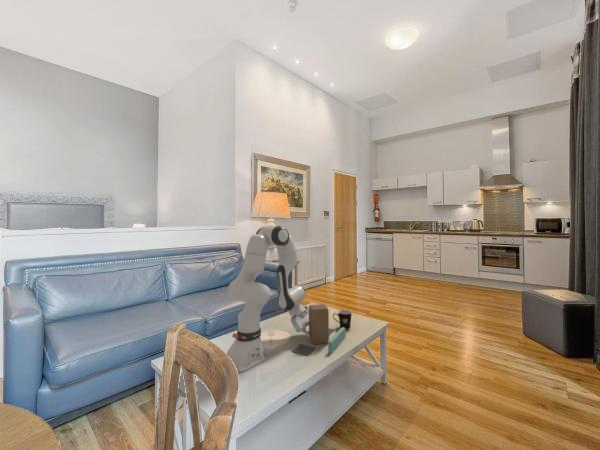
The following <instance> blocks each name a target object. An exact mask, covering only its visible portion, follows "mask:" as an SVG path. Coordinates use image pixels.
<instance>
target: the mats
mask: <svg viewBox="0 0 600 450" xmlns="http://www.w3.org/2000/svg"><path fill="white" fill-rule="evenodd" d="M334 331H335V329H334V328H330V327H329V336H330V335H331V334H332V333H333V332H334ZM316 349H317V347H316V346H311V345H308V344H302V343H299V344H298V345H297V346H296V347H294V348H293V349H292V350H291V352H290V353H295V354H298V355H303V356H306V357H309V356H310V355H311V354H312V353H313V352H314V351H315V350H316Z"/></svg>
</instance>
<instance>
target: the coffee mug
mask: <svg viewBox="0 0 600 450" xmlns="http://www.w3.org/2000/svg"><path fill="white" fill-rule="evenodd" d="M337 312H338V313H337ZM337 312H336V313H333V315H332V317H333V319H334V321H336V322H338V323H339V326H340V329H341V328H342V327H343V328H345V330H349V329H350V328H351V322H352V321H351V320H352V315H353V314H352V311H351V310H350V309H340V310H338V311H337ZM335 315H337V316H338V320H337V319H336V318H335ZM348 328H349V329H348Z"/></svg>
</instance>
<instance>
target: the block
mask: <svg viewBox="0 0 600 450" xmlns="http://www.w3.org/2000/svg"><path fill="white" fill-rule="evenodd" d="M308 308H309V309H308V310H309V325H308V331H309V332H310V335H309V336H308V337H309V340H310V342H311V344H312V345H319V344H320V345H321V344H322V345H323V344H328V341H329V340H330V335H329V328H330V327H329V326H330V325H329V322H330V321H329V315H330V314H329V313H330V311H329V307H327V306H326V304H324V303H322V304H321V303H320V304H319V303H318V304H309V305H308Z"/></svg>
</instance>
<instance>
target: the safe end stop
mask: <svg viewBox="0 0 600 450" xmlns="http://www.w3.org/2000/svg"><path fill="white" fill-rule="evenodd" d="M345 339H346V329H345V328H343V327H342V328H341V327H340V329H339V330H338V331H337V332H336V333H335V334H334V335H333V336H332V337H331V338H329V341H328V343H327V346H328V347H327V351H328V352H327V353H328V354H330V355H331V354H333V353H334V352H335V350H336V349H338V347H339V346H340V345H341V344H342V342H343V341H344V340H345ZM340 343H341V344H340Z"/></svg>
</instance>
